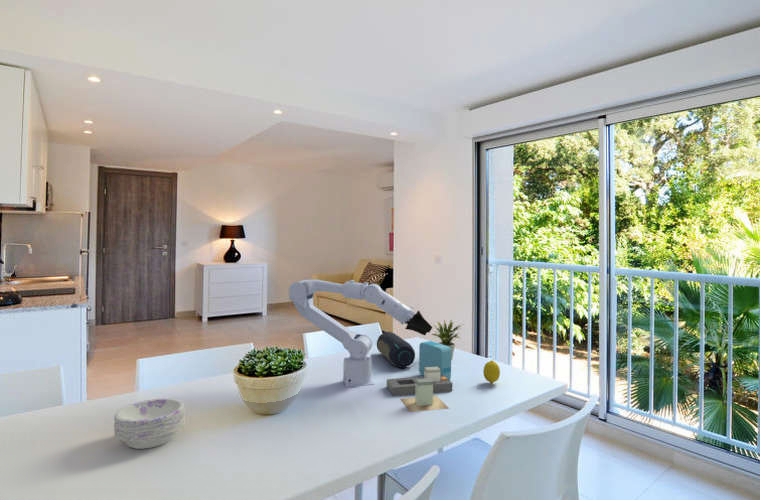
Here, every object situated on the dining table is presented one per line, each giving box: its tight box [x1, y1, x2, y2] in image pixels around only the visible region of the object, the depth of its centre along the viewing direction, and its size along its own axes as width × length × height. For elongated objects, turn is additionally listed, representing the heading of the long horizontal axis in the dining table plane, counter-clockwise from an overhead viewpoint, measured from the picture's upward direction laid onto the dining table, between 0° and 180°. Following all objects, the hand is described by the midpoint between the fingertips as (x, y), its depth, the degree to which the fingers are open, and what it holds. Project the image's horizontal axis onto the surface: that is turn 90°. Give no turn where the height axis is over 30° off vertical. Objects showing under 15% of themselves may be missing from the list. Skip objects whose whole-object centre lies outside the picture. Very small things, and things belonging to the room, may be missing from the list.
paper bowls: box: [113, 398, 186, 450], centre depth 106 cm, size 15×15×8 cm
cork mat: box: [400, 395, 450, 413], centre depth 130 cm, size 12×10×1 cm
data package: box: [418, 340, 452, 381], centre depth 155 cm, size 12×4×12 cm, turn 36°
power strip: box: [386, 375, 453, 397], centre depth 142 cm, size 20×8×4 cm, turn 103°
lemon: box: [482, 359, 501, 384], centre depth 149 cm, size 6×6×8 cm
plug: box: [414, 378, 434, 406], centre depth 129 cm, size 4×3×7 cm, turn 103°
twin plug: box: [423, 367, 440, 382], centre depth 143 cm, size 4×3×7 cm, turn 103°
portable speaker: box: [376, 331, 416, 369], centre depth 175 cm, size 25×10×10 cm, turn 17°
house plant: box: [431, 319, 465, 361], centre depth 177 cm, size 14×14×16 cm
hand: (428, 331), depth 144 cm, fingers open, 7 cm apart
